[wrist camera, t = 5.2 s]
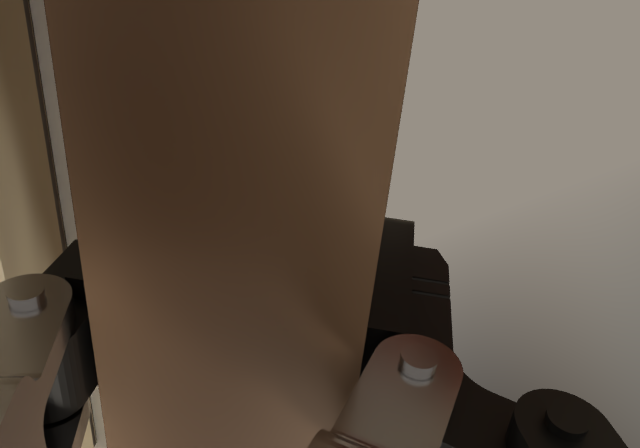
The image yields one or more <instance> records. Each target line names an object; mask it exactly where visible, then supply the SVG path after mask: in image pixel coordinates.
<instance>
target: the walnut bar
mask: <svg viewBox="0 0 640 448" xmlns="http://www.w3.org/2000/svg"><path fill="white" fill-rule="evenodd" d="M418 4H419V0H44V5H45V12H46V20H47V27H48V34H49V41H50V48H51V55H52V62H53V69H54V76H55V83H56V90H57V97H58V104H59V111H60V118H61V125H62V132H63V139H64V146H65V153H66V160H67V167H68V175H69V182H70V189H71V196H72V203H73V210H74V217H75V224H76V231H77V238H78V245H79V252H80V259H81V266H82V273H83V280H84V287H85V294H86V301H87V308H88V315H89V322H90V330H91V337H92V344H93V351H94V358H95V365H96V372H97V379H98V386H99V393H100V400H101V407H102V414H103V421H104V428H105V435H106V442H107V448H308V446H309V444H310V443H311V441H312V439H313V438H314V436H315V435H316V434H317V432H318V431H319V430H321V429H325V430H327V431H330V430H331V429H332V427H333V426H334V424H335V422H336V420H337V418H338V417H339V415H340V413H341V411H342V409H343V407H344V406H345V404H346V402H347V400H348V398H349V396H350V395H351V393H352V391H353V389H354V387H355V386H356V384H357V382H358V380H359V377H360V370H361V364H362V358H363V352H364V345H365V339H366V333H367V326H368V320H369V314H370V307H371V301H372V295H373V288H374V282H375V276H376V269H377V263H378V257H379V250H380V244H381V238H382V232H383V225H384V219H385V213H386V206H387V200H388V194H389V187H390V181H391V175H392V168H393V162H394V156H395V149H396V143H397V137H398V130H399V124H400V118H401V112H402V105H403V99H404V93H405V86H406V79H407V74H408V67H409V61H410V55H411V48H412V42H413V36H414V29H415V23H416V17H417V11H418Z"/></svg>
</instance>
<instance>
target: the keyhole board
mask: <svg viewBox="0 0 640 448" xmlns="http://www.w3.org/2000/svg"><path fill="white" fill-rule="evenodd" d="M66 249H67V246H66V240H65V233H64V227H63V220H62V214H61V207H60V201H59V194H58V188H57V181H56V175H55V168H54V162H53V156H52V149H51V143H50V136H49V130H48V123H47V117H46V110H45V104H44V97H43V91H42V84H41V78H40V71H39V65H38V58H37V52H36V45H35V39H34V32H33V26H32V19H31V13H30V6H29V0H0V282H2V281H5V280H7V279H10V278H13V277H16V276H20V275H26V274H37V273H41V274H42V273H43V272H44V271H45V270H46V269H47V268H48V267H49V266H50V265H51V264H52V263H53V262H54V261H55V260H56V259H57V258H58V257H59V256H60V255H61V254H62V253H63V252H64V251H65V250H66ZM89 401H90V397H89ZM90 409H91V412H90V417H89V421H88V424H87V428H86V432H85V435H84V439H83V443H82V446H81V448H94V446H95V444H96V443H97V441H96V434H95V428H94V421H93V415H92V408H91V402H90Z"/></svg>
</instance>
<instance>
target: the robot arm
mask: <svg viewBox="0 0 640 448" xmlns="http://www.w3.org/2000/svg"><path fill="white" fill-rule="evenodd" d="M97 385H98V379H97V372H96V365H95V358H94V351H93V344H92V337H91V330H90V322H89V315H88V308H87V301H86V294H85V287H84V280H83V273H82V266H81V259H80V252H79V245H78V240H74V241H73V242H72V243H71V244H70V245H69V246H68V247H67V249H66V250H65V251H64V252H63V253H62V254H61V255H60V256H59V257H58V258H57V259H56V260H55V261H54V262H53V263H52V264H51V265H50V266H49V267H48V268H47V269H46V270H45V271H44V272H43V273H42V274H41V273H37V274H26V275H20V276H16V277H13V278H10V279H7V280H5V281H2V282H0V448H81V446H82V443H83V439H84V435H85V432H86V428H87V424H88V421H89V417H90V412H91V409H90V401H89V397H90V395H91V394H92V392H93V391H94V389H95V388H96V386H97ZM308 448H628V447H627V446H626V444H625V443H624V442H623V440H622V439H621V438H620V436H619V435H618V434H617V432H616V431H615V429H614V428H613V427H612V425H611V424H610V423H609V421H608V420H607V419H606V418H605V416H604V415H603V414H602V413H601V412H600V411H599V410H597V409H596V408H595V407H594V406H592V405H591V404H590V403H588V402H586V401H585V400H583V399H581V398H579V397H577V396H575V395H572V394H570V393H567V392H563V391H559V390H553V389H538V390H533V391H530V392H527V393H526V394H524V395H522V396H521V397H520V398H519V399H518V401H517V403H516V402H514V401H511V400H509V399H507V398H504V397H502V396H499V395H497V394H495V393H492V392H490V391H488V390H486V389H484V388H482V387H481V386H479V385H478V384H476V383H475V382H473V381H472V380H471V379H470V378H469V377H468V376H467V375H466V374H465V373H464V372H463V367H462V364H461V362H460V360H459V358H458V357H457V356H456V354H455V353H454V352H453V338H452V321H451V302H450V286H449V267H448V264H447V263H446V261H445V260H444V259H443V257H442V256H441V254H440V253H439V251H438V250H437V249H431V248H424V247H418V246H414V222H413V221H407V220H400V219H393V218H386V217H385V219H384V225H383V232H382V238H381V244H380V250H379V257H378V263H377V269H376V276H375V282H374V288H373V295H372V301H371V307H370V314H369V320H368V326H367V333H366V339H365V345H364V352H363V358H362V364H361V370H360V377H359V380H358V382H357V384H356V386H355V387H354V389H353V391H352V393H351V395H350V396H349V398H348V400H347V402H346V404H345V406H344V407H343V409H342V411H341V413H340V415H339V417H338V418H337V420H336V422H335V424H334V426H333V427H332V429H331V430H330V431H327V430H325V429H321V430H319V431H318V432H317V434H316V435H315V436H314V438H313V439H312V441H311V443H310V444H309V446H308Z"/></svg>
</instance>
